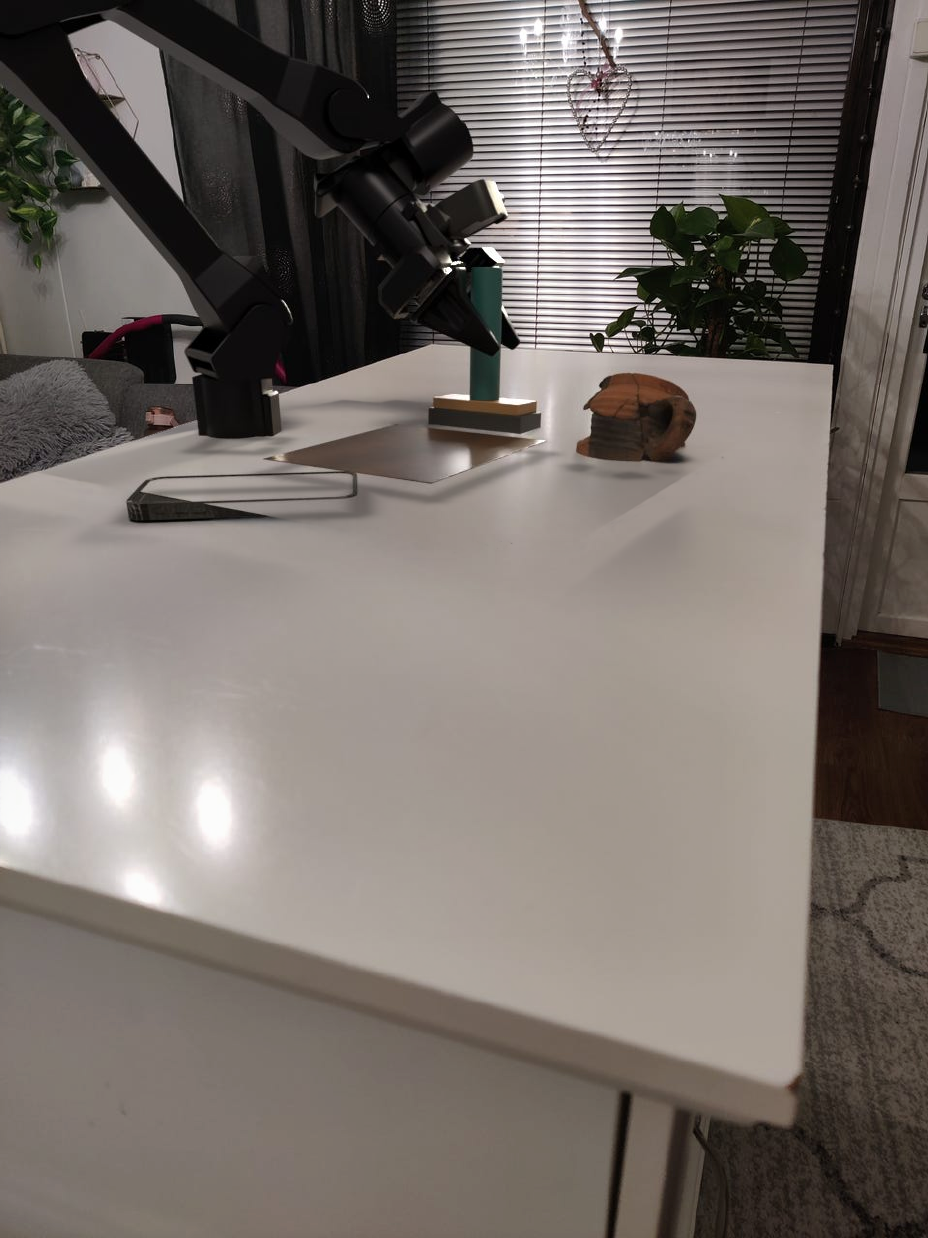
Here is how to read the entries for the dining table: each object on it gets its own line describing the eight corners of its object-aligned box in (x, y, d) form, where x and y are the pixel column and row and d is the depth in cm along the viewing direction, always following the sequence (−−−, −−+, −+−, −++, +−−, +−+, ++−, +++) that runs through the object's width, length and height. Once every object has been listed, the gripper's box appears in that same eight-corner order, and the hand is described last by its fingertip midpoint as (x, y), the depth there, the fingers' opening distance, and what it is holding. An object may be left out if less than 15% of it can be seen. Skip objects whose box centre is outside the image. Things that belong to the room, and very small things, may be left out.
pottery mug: (544, 467, 73) (570, 374, 74) (626, 505, 78) (650, 417, 78) (640, 455, 63) (669, 347, 63) (729, 499, 68) (755, 399, 68)
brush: (428, 424, 83) (427, 266, 78) (450, 420, 87) (451, 267, 82) (520, 434, 79) (526, 266, 74) (540, 429, 82) (547, 268, 77)
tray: (264, 473, 70) (262, 458, 69) (396, 436, 84) (395, 424, 83) (431, 499, 62) (431, 483, 61) (546, 454, 76) (546, 440, 76)
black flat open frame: (148, 476, 63) (356, 470, 65) (150, 492, 64) (357, 485, 65) (121, 505, 56) (357, 496, 58) (124, 521, 56) (358, 513, 58)
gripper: (408, 131, 67) (544, 286, 68) (484, 155, 83) (593, 280, 84) (323, 243, 72) (449, 386, 73) (410, 246, 89) (513, 362, 90)
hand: (507, 349), depth 80 cm, fingers open, 6 cm apart
